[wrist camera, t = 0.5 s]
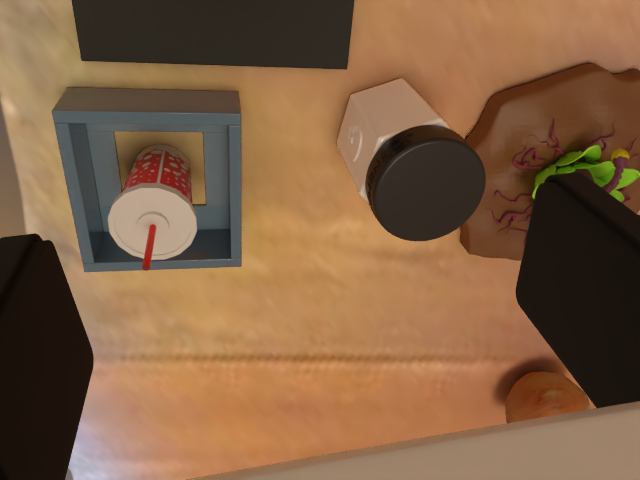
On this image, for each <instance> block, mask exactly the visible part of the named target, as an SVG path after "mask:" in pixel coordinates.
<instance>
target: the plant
mask: <svg viewBox="0 0 640 480" xmlns="http://www.w3.org/2000/svg"><path fill="white" fill-rule="evenodd" d="M465 141H466V142H467V143H468V144H469V145H470V146H471V147H472V148H473V150H474V151H475V152H476V153H477V154H478V155H479V157H480V159H481V160H482V163H483V165H484V169H485V174H486V184H485V190H484V193H483V197H482V199H481V201H480V203H479V205H478V207H477V209H476V210H475V212H474V213H473V214H472V215H471V217H470V218H469V219H468V220H467V221H466V222H465V223H464V224H462V225H461V244H462V245H463V247H464V248H465V249H466V251H467V252H468V253H469V254H473V255H478V256H482V257H488V258H507V259H512V260H522V257H523V252H524V247H525V242H526V237H527V233H528V228H529V223H530V218H531V213H532V208H533V204H534V199H535V194H536V190H537V187H538V186H539V185H540V184H541V183H544V181H545V179H546V178H547V177H548V176H550V175H555V174H564V173H573V172H580V173H582V174H583V175H585V176H586V177H588V178H589V179H590V180H592V181H593V182H594V183H596V184H597V185H598V186H600V187H601V188H602V189H604V190H605V191H606V192H608V193H609V194H610V195H612V196H613V197H614V198H616V199H617V200H619V201H620V202H621V203H623V204H624V205H625V206H627V207H628V208H629V209H631V210H632V211H633V212H635V213H636V214H637V213H638V211H639V210H640V71H639V70H637V69H631V70H629V71H626V72H624V73H621V74H611V73H609V72H608V71H607V70H605V69H603V68H601V67H599V66H597V65H595V64H583V65H579V66H577V67H574V68H572V69H569V70H566V71H563V72H560V73H557V74H554V75H551V76H548V77H545V78H543V79H540V80H537V81H534V82H532V83H529V84H525V85H521V86H518V87H514V88H511V89H508V90H505V91H503V92H500V93H497V94H495V95H494V96H492V97H491V98H490V99H489V102H488V104H487V105H486V107H485V109H484V112H483V114H482V116H481V118H480V120H479V122H478V124H477V126H476V127H475V129H474V130H473V132H472V133H471V134H470V135H469V136H468V137H467V138H466V140H465ZM639 216H640V215H639Z"/></svg>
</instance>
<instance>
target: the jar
mask: <svg viewBox="0 0 640 480" xmlns="http://www.w3.org/2000/svg"><path fill="white" fill-rule="evenodd" d="M336 145H337V147H338V149H339V151H340V153H341V156H342V158H343V160H344V162H345V164H346V166H347V168H348V170H349V173H350V175H351V177H352V179H353V181H354V183H355V185H356V188H357V190H358V192H359V194H360V196H362V197H363V198H364V199H365V200H366V201H368V202H369V205H370V206H371V209H372V211H373V214H374V215H375V217H376V218H377V220H378V221H379V222H380V224H381V225H382V226H383V227H384V228H385V229H386V230H387V231H388V232H389V233H391V234H392V235H394V236H396V237H398V238H401V239H404V240H409V241H427V240H432V239H436V238H439V237H442V236H444V235H447V234H449V233H451V232H452V231H454V230H456V229H457V228H458V227H460V226H461V225H462V224H464V223H465V222H466V221H467V220H468V219H469V218H470V217H471V215H472V214H473V213H474V212H475V210H476V209H477V207H478V205H479V203H480V201H481V199H482V197H483V193H484V190H485V184H486V174H485V169H484V165H483V163H482V160H481V159H480V157H479V155H478V154H477V153H476V152H475V151H474V150H473V148H472V147H471V146H470V145H469V144H468V143H467V142H466V141H465V140H464V139H463V138H462V137H461V136H460V135H459V134H457V133H456V132H454V131H453V130H452V129H451V128H450V127H449V126H448V125H447V123H446V122H445V121H444V120H443V119H442V118H441V117H440V116H439V115H438V114H437V113H436V112H435V111H434V110H433V109H432V108H431V107H430V105H429V104H428V103H427V102H426V101H425V100H424V99H423V98H422V97H421V96H420V95H419V94H418V93H417V92H416V91H415V90H414V89H413V88H412V87H411V86H410V85H409V84H408V82H407V81H406V80H405V79H403V78H400V79H397V80H394V81H390V82H387V83H384V84H381V85H378V86H375V87H372V88H369V89H366V90H363V91H359V92H356V93H353V94H351V95H350V98H349V101H348V105H347V108H346V112H345V115H344V118H343V122H342V125H341V129H340V132H339V135H338V139H337V142H336Z"/></svg>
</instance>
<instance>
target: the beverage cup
mask: <svg viewBox="0 0 640 480" xmlns="http://www.w3.org/2000/svg"><path fill="white" fill-rule="evenodd" d="M108 225H109V231H110V234H111V236H112V237H113V239H114V240H115V242H116V243H117V245H118V246H119V247H121V248H122V249H124V250H125V251H127V252H128V253H129V254H131V255H133V256H136V257H140V258H143V259H144V260H143V266H142V268H143V270H149V269H150V265H151V260H165V259H168V258H170V257H173V256H176V255H179V254H181V253H182V252H183V251H184V250H185V249H186V248H188V247H189V246H190V245H191V243H192V241H193V239H194V237H195V235H196V232H197V222H196V211H195V209H194V208H193V206H192V194H191V178H190V164H189V162H188V160H187V159H186V157H185V155H184V154H182V153H181V152H180V151H179V150H178V149H176V148H174V147H171V146H168V145H152V146H150V147H147V148H145V149H144V150H143V151H141V152H140V153H139V154H138V155H137V158H136V160H135V162H134V165H133V167H132V169H131V172H130V174H129V176H128V179H127V181H126V183H125V186H124V188H123V191H122V193H121V194H120V195H119V196H118V197H117V198H116V199H115V200H114V203H113V205H112V208H111V210H110V213H109V216H108Z"/></svg>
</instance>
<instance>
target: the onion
mask: <svg viewBox="0 0 640 480" xmlns="http://www.w3.org/2000/svg"><path fill="white" fill-rule="evenodd" d="M584 410H590V404H589V401H588V398H587V396H586V394H585V393H584V392H583V391H582V390H581V389H580V388H579V387H578V386H577V385H576V384H574V383H573V382H572V381H571V380H569V379H568V378H566V377H565V376H562V375H560V374H557V373H554V372H549V371H534V372H530V373H527V374H525V375H524V376H522V377H521V378H520V379H519V380H518V381H517V382H516V383H515V384H514V386H513V387H512V389H511V390H510V392H509V394H508V396H507V400H506V421H507V423H512V422H518V421H524V420H530V419H536V418H542V417H548V416H554V415H560V414H566V413H572V412H578V411H584Z"/></svg>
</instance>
